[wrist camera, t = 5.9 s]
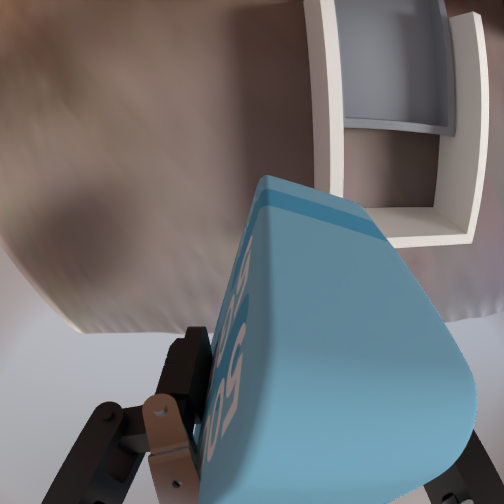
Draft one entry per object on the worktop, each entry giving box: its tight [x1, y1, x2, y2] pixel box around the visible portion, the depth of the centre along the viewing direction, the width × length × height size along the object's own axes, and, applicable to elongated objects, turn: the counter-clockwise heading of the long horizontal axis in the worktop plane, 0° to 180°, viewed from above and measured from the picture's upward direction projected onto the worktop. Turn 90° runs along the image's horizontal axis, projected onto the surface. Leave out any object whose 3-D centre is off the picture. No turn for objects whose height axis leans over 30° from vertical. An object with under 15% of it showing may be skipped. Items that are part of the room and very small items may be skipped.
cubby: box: [303, 0, 489, 248], centre depth 21 cm, size 15×22×7 cm
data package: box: [194, 175, 477, 504], centre depth 11 cm, size 12×4×12 cm, turn 165°
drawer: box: [334, 0, 454, 137], centre depth 16 cm, size 15×23×7 cm, turn 4°
